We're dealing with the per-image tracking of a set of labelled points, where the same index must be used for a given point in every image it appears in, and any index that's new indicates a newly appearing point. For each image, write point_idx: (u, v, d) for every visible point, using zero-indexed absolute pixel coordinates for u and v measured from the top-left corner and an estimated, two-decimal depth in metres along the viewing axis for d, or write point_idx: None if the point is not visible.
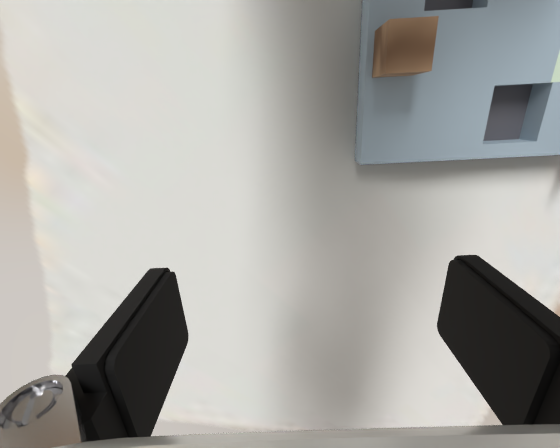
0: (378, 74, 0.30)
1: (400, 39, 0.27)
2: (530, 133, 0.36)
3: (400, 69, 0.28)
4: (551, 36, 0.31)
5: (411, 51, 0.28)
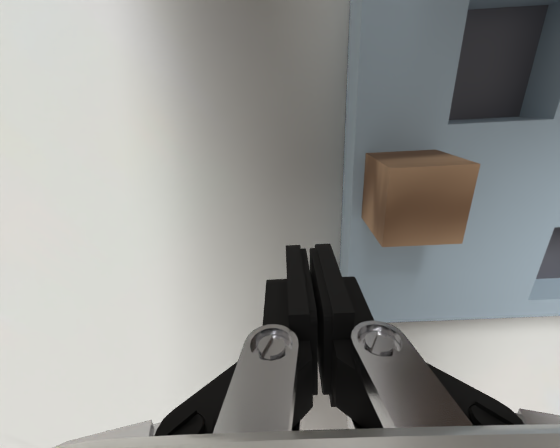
0: (371, 230, 0.18)
1: (410, 199, 0.15)
2: None
3: (408, 241, 0.16)
4: None
5: (428, 217, 0.16)
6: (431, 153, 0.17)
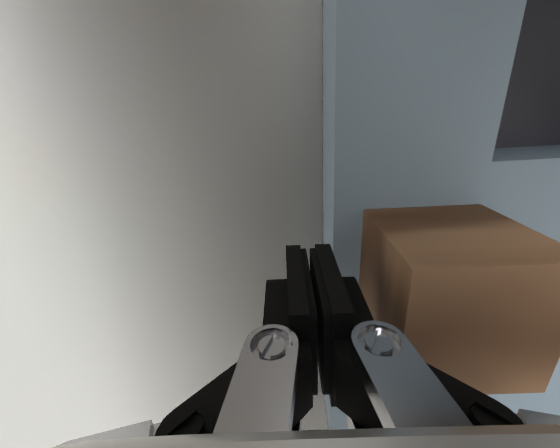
0: None
1: (450, 323, 0.08)
2: None
3: None
4: None
5: (484, 352, 0.08)
6: (477, 216, 0.10)
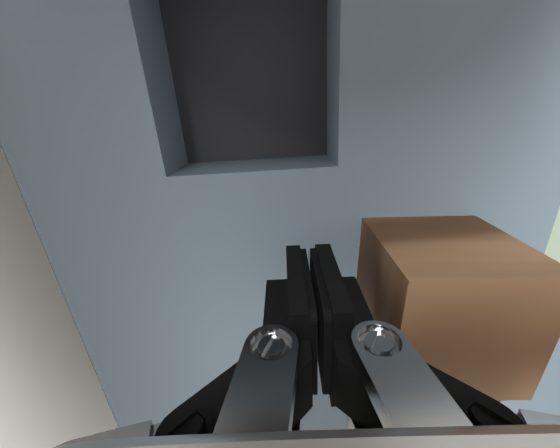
0: None
1: (443, 332, 0.08)
2: None
3: None
4: (521, 228, 0.12)
5: (475, 360, 0.08)
6: (472, 227, 0.10)
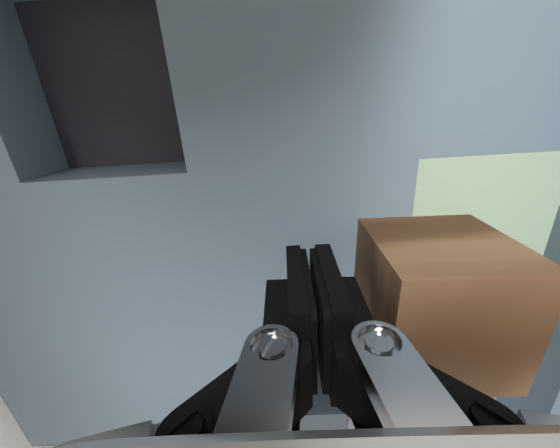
0: None
1: (437, 331, 0.08)
2: None
3: None
4: None
5: (470, 357, 0.08)
6: (466, 226, 0.10)
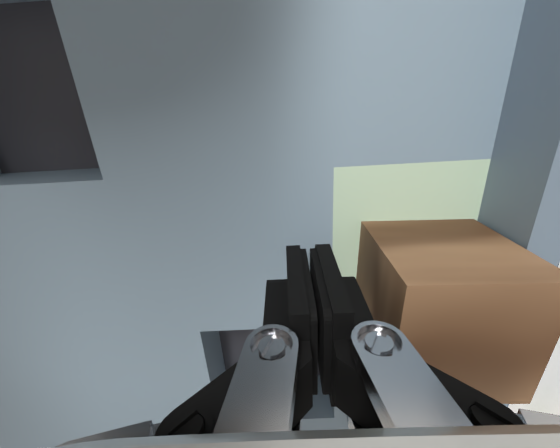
0: None
1: (441, 336, 0.08)
2: None
3: None
4: (301, 241, 0.12)
5: (473, 364, 0.08)
6: (470, 231, 0.10)
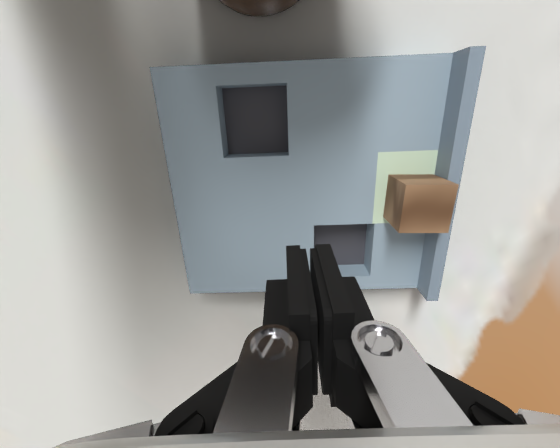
0: (391, 223, 0.28)
1: (416, 204, 0.25)
2: (367, 264, 0.34)
3: (415, 229, 0.26)
4: (363, 182, 0.29)
5: (427, 215, 0.26)
6: (430, 176, 0.28)
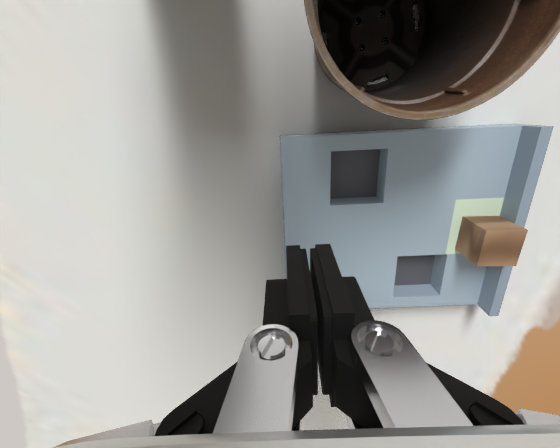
0: (466, 256, 0.35)
1: (493, 244, 0.32)
2: (436, 285, 0.41)
3: (489, 263, 0.33)
4: (441, 222, 0.36)
5: (501, 252, 0.33)
6: (498, 219, 0.35)
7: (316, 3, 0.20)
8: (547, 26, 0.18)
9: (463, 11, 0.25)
